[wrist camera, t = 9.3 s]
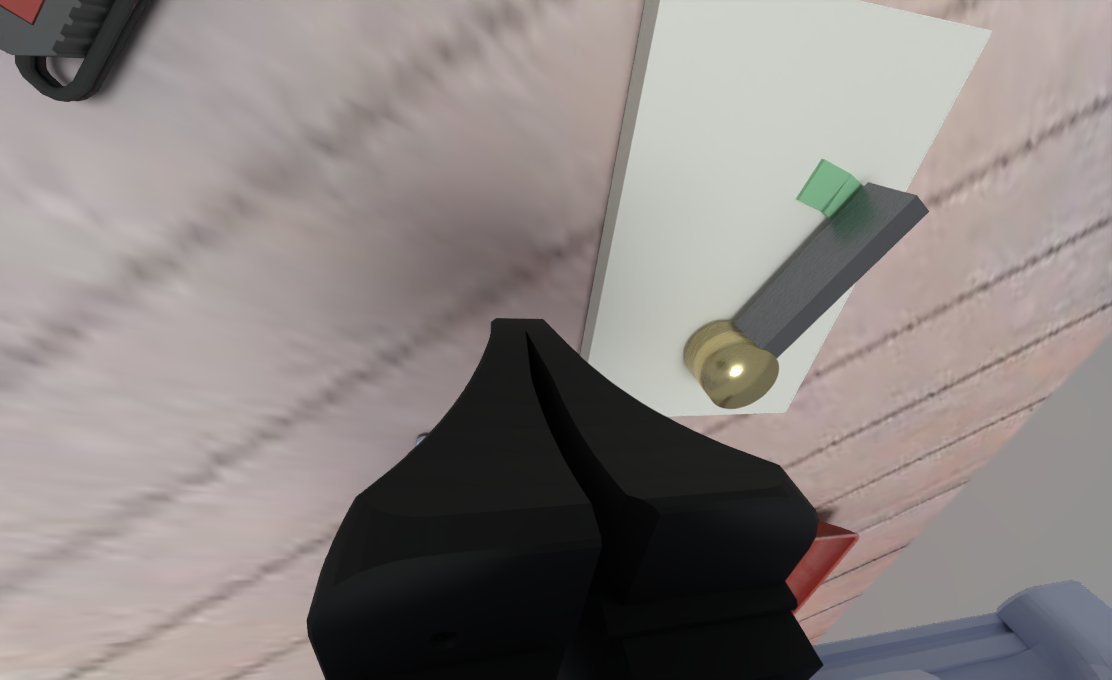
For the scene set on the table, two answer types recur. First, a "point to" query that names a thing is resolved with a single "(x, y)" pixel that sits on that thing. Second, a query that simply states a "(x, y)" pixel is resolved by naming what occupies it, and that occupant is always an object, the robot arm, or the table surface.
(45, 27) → the walkie-talkie
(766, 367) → the dial lever
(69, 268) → the table surface
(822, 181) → the dial board
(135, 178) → the table surface
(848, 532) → the plant saucer
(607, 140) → the table surface
